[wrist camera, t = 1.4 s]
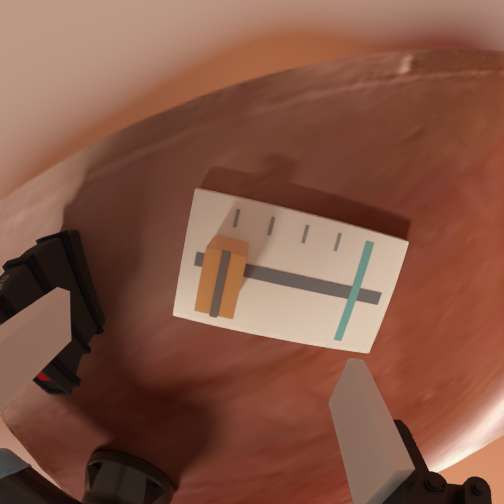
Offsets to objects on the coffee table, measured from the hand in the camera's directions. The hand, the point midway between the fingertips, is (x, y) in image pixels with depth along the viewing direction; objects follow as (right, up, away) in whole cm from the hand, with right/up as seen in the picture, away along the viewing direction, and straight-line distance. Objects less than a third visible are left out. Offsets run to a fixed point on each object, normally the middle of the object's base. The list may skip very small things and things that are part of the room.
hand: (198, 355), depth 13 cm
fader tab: (0, +3, +14) cm, 15 cm away
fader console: (+6, +2, +17) cm, 18 cm away
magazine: (-16, +1, +18) cm, 24 cm away
